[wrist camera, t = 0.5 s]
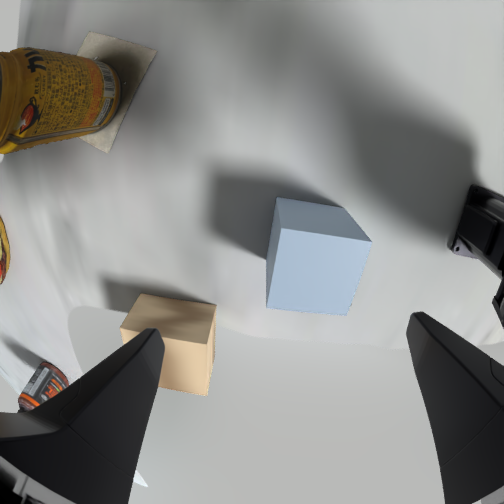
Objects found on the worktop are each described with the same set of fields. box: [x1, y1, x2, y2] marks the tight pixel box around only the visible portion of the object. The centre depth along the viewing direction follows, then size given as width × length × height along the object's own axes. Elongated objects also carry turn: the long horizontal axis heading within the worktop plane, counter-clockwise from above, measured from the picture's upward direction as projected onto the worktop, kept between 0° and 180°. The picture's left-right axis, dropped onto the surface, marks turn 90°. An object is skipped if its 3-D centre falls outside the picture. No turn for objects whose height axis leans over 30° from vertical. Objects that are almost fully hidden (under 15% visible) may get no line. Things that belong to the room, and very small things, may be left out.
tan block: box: [120, 293, 216, 396], centre depth 23 cm, size 7×7×5 cm
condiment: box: [0, 32, 157, 154], centre depth 10 cm, size 7×8×12 cm
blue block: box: [266, 197, 372, 316], centre depth 18 cm, size 5×5×6 cm
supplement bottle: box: [17, 362, 69, 413], centre depth 27 cm, size 6×6×11 cm
